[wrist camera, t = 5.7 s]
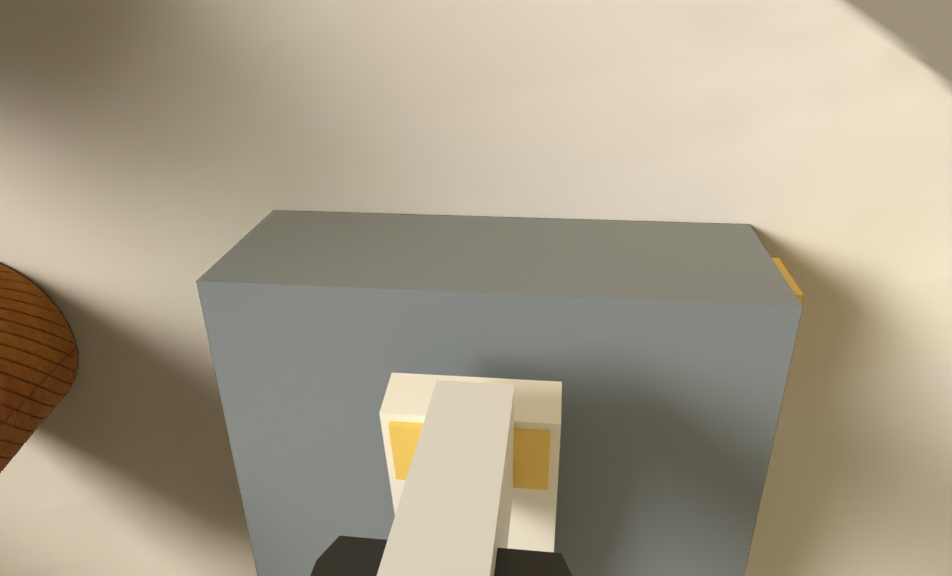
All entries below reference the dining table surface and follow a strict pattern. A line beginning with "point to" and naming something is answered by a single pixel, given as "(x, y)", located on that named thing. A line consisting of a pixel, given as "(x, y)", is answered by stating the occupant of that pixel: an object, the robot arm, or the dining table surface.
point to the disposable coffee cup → (30, 360)
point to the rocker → (531, 447)
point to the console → (507, 372)
